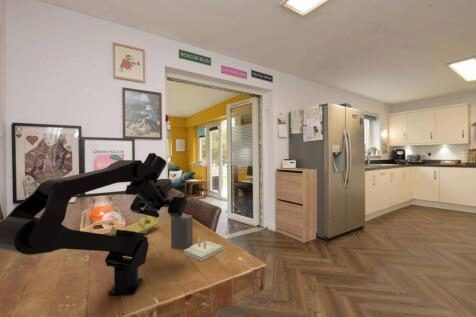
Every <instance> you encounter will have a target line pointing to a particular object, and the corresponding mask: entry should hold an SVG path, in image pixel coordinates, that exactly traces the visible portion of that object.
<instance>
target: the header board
mask: <svg viewBox="0 0 476 317" xmlns="http://www.w3.org/2000/svg"><path fill="white" fill-rule="evenodd" d="M222 251H224V245H222V244H219V243H215V242H212V241H209V240H203V241H202V242H201V238H197V243H195V244H193V245H192V246H190V248H187V249H183V255H185V256H188V257H190V258H192V259H195V260H196V261H200V262H204V261H205V260H207V259H208V258H210V257H212V256H214V255H216V254H218V253H220V252H222Z"/></svg>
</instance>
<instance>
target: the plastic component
mask: <svg viewBox="0 0 476 317" xmlns="http://www.w3.org/2000/svg"><path fill="white" fill-rule="evenodd" d="M159 220H160V219H159V217H158V218H156V217H152V216H148V215H145V216H144V217H141V218H140V219H139V220H138V222H134V223H132V224H129V225H128V226H124V227H121V228H120V229H118V228H117V226H112V227H111V228H110V230H109V234H108V235H116V230H117V229H118V230H126V231H134V232H139V233H145V234H147V233H148V232H149V230H151V229H153V228H154V227H155V226H157V224H158V223H159Z"/></svg>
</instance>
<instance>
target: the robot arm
mask: <svg viewBox="0 0 476 317" xmlns="http://www.w3.org/2000/svg"><path fill="white" fill-rule="evenodd" d="M166 166H167V160H166V159H164V158H163V157H162V156H160V155H157V154H156V152H149V153H148V155H147V157H146V158H145V160H144V161H142V160H141V159H120V160H118V161H114V162H113V163H110V164H109V165H108V166H106V167H104V168H101V169H95V170H92V171H87V172H83V173H77V174H73V175H70V176H65V177H60V178H56V179H53V178H51V179H47V180H44V181H42V182H41V183H40V184H39V185H38V186H37V188H36V189H35V190H34V191H33V193H31V194H30V195H28V196H27V197H26V198H25V199H24V200H22V201H21V202H20V203H19V204H17V205H16V206H15V207H14V208H13V209H11V211H10V213H9V214H8V215H7V216H6V218H5V219H3V220H1V221H0V250H1V251H5V252H12V253H16V254H22V255H25V256H26V255H27V256H30V255H31V256H33V255H39V254H47V253H53V252H56V251H60V250H76V251H77V250H78V251H79V250H80V251H94V252H95V251H96V252H107V253H108V254H107V256H106V257H105V259H104V262H105V266H107V268H108V267H112V268H113V280H114V281H113V286H112V287H111V289H110V290H109V291H108V293H107V294H108V296H118V295H120V296H121V295H135V293H136V292H137V290H138V288H139V287H140V285H141V284H142V282H143V281H144V279H143V278H141V277H139V268H140V267H142V266H143V265H144V264H145V263H146V260H147V256H148V251H149V246H150V244H149V240H148V237H147V236H146V235H145V234H146V233H139V232H134V231H126V230H119V229H118V228H117V230H116V235H109V234H103V233H97V232H90V231H83V230H76V229H72V228H69V227H67V226H66V225H64V224H63V221H64V220H65V218H66V215H67V210H68V204H69V202H70V201H71V199H72V198H73V197H75V196H80V195H82V194H86V193H89V192H92V191H95V190H98V189H101V188H105V187H108V186H111V185H114V184H119V183H129V184H127V185H126V189H125V190H124V191H125V192H124V194H125V195H129V196H135V198H134V199H133V201H132V203H131V204H130V208H129V210H131V212H132V213H136V214H138V215H144V216H147V215H148V216H152V217H156V218H158V219H159V217H160V214H159V212H158V211H160V210H161V209H162V208H167V213H168V215H170V218H171V217H174V218H176V219H179V220H181V218H182V214H183V213H184V211H185V208H186V206H187V205H188V202H189V200H188V199H187V197H186V196H182V195H181V196H180V195H175V196H173V197H172V199H167V198H169V194H168V193H170V191H171V190H172V189H174V186H173V182H172V179H171V178H160V176H161V175H162V173H163V171H164V170H165V168H166ZM43 210H44V211H43ZM42 211H43V212H42ZM40 212H42V214H41V215H40V216H39V217H37V215H38V214H39V213H40Z"/></svg>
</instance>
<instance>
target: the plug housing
mask: <svg viewBox="0 0 476 317" xmlns="http://www.w3.org/2000/svg"><path fill="white" fill-rule="evenodd" d="M170 231H171V232H170V240H171V241H170V247H171V248H172V249H179V250H185V249H187V248H190V246H192V245H194V244H193V242H194V240H193V238H194V237H193V233H194V232H193V215H192V214H182V218H181V220H179V219H176V218H174V217H171V216H170Z"/></svg>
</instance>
